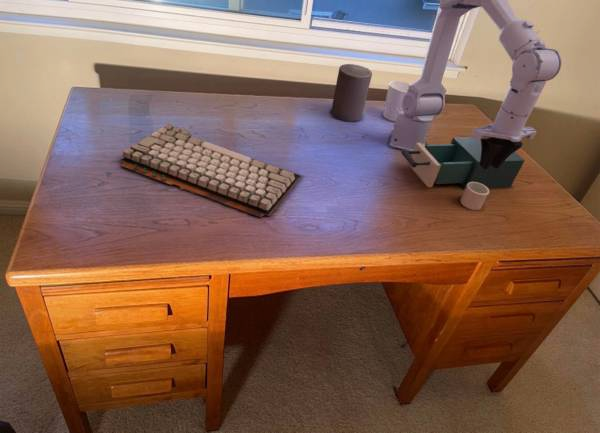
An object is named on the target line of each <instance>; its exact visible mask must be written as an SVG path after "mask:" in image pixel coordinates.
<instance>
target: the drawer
mask: <svg viewBox="0 0 600 433" xmlns="http://www.w3.org/2000/svg"><path fill="white" fill-rule="evenodd" d="M400 153H401V155H402V156H403V158H404V159H405V160H406V161H407V162H408V165H409V166H410V167H411V168H412V170H413V171H414V172H415V174H416V175H417V176H418V177H419V178H420V180H421V181H422V182H423V183H424V184H425V186H426V187H427V188H433V187H434V184H435V185H448V184H460V183H467V181H468V178H469V176H470V174H471V172H472V170H473V167H474V165H475V162H474V161H473V160H472V159H471V158H470V157H469V156H468V155H467V154H466V153H465V152H464V151H463V150H462V149H461V148H460V147H459V146H458V145H457V144H451V143H438V144H437V143H435V144H434V143H433V144H425V145H424V146H423V145H422V144H421V143H416V145H415V148H414V151H407V150H406V149H401V151H400Z"/></svg>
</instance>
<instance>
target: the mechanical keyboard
mask: <svg viewBox="0 0 600 433" xmlns="http://www.w3.org/2000/svg"><path fill="white" fill-rule="evenodd" d="M120 161H121V162H122V164H121V165H120V166H121V167H124V168H126V169H128V170H130V171H134V172H136V173H139V174H141V175H144V176H146V177H149V178H152V179H154V180H157V181H159V182H163V183H165V184H168V185H171V186H173V185H175V186H178V187H179V189H180V190H184V191H188V192H189V193H190V192H191V193H193V194H196V195H197V194H198V195H201V196H203V197H206V198H209V199H211V200H213V201H216V202H218V203H221V204H223V205H225V206H228V207H231V208H234V209H236V210H239V211H241V212H245V213H247V214H249V215H251V216H254V217H258V218H262V217H263V216H266V217H270V216H272V214H273V213H274V211H275V210H276V209H277V208H278V207H279V205H280V204H281V203H282V202H283V200H284V199H285V198H286V196H287V195H288V194H289V192H291V190H292V189H293V188H294V186H296V184H297V183H298V181H299V180H300V179H301V177H302V175H300V174H297V173H295V172H291V171H289V170H286V169H282V168H279V167H278V166H274V165H272V164H266V163H265V162H263V161H260V160H258V159H253V158H251V157H250V156H247V155H244V154H242V153H239V152H236V151H233V150H229V149H227V148H225V147H222V146H219V145H216V144H213V143H212V142H208V141H203V140H202V139H199V138H196V137H193V136H192V133H191V131H190V129H187V128H183V129H182V127H180V126H176V125H175V126H174V124H171V123H169V122H168V123H167V124H166V125H164V126H162V127H159V129H157V131H156V130H155V131H154V132H152V133H151V135H148V136H146V137H145V138H143V139H141V140H140V141H138V142H137V143H133V144H132V145H131V144H130V148H125V149H124V150H123V151H122V158H121V159H120Z"/></svg>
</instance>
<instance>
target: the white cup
mask: <svg viewBox="0 0 600 433" xmlns="http://www.w3.org/2000/svg"><path fill="white" fill-rule="evenodd" d="M411 84H412V83H409V82H406V81H402V80H392V81H390V82H389V84H388V88H387V92H386V96H385V102H384V108H383V112H382V116H383V118H384V119H386V120H388V121H392V122H394V123H395V122H396V118H397V115H398V112H399V111H403V108H402V101H403V98H404V96H405V94H406V93H407V91H408V87H409V85H411ZM403 112H404V111H403Z"/></svg>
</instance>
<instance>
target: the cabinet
mask: <svg viewBox="0 0 600 433" xmlns="http://www.w3.org/2000/svg"><path fill="white" fill-rule="evenodd" d="M450 144H457V145H458V146H459V147H460V148H461V149H462V150H463V151H464V152H465V153H466V154H467V155H468V156H469V157H470V158H471V159H472V160H473V161H474V162H475V165H474V167H473V170H472V172H471V174H470V176H469V178H468V181H467V183H459V185H461V186H462V187H463V189H465V188H466V185H467V184H468V183H469V182H478V183H481V184H483V185H485V186H486V187H487V188H488V189H499V188H511V187H512V185H513V184H514V182H515V180H516V179H517V176H518V175H519V172H520V170H521V168H522V167H523V165H524V162H525V161H526V160H525V159H524V158H523V157H522V156H521V155H520V154H518V153H517V152H516V151H515V152H514V153H512V154H511V155H510V156H509V157H508V158H507V159H506V160H505V161H504V162H503V163H502V164H501V165H500V167H499V168H498V169H495V168H494V167H493V166H492V165H491V164H490V166H489V167H488V169H483V168H482V167H481V166H480V159H481V139H480V140H479V141H476V140H475V139H474V138H473V137H472V136H470V137H469V136H463V137H462V136H461V137H459V136H457V137H452V139H451V141H450Z"/></svg>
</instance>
